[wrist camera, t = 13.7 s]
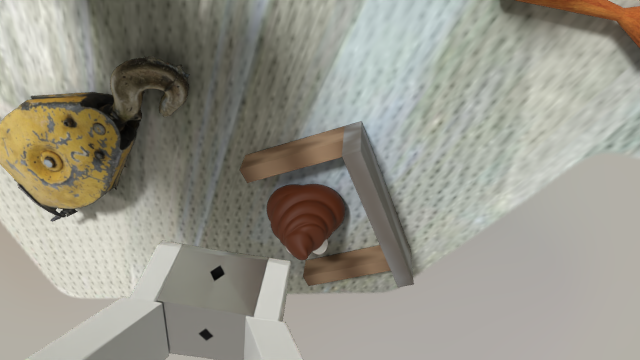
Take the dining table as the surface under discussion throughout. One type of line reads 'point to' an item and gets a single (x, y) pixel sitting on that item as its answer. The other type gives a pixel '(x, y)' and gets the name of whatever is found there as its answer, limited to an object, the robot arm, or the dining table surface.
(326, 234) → the poop emoji
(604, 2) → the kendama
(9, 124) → the pulley block
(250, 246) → the dining table surface
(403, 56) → the dining table surface
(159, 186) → the dining table surface
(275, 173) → the channel
